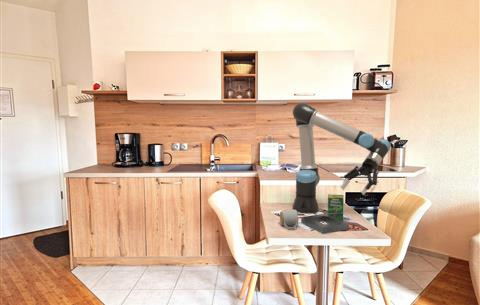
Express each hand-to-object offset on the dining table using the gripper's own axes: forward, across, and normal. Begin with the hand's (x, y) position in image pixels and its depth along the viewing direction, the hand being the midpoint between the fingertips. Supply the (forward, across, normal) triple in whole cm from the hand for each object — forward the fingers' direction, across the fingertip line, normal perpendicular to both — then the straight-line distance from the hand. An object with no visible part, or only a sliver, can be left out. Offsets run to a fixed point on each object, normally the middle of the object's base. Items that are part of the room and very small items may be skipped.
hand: (351, 190), depth 141 cm
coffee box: (+18, 0, -2) cm, 18 cm away
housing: (+27, -6, +7) cm, 29 cm away
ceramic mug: (+38, +1, +18) cm, 42 cm away
